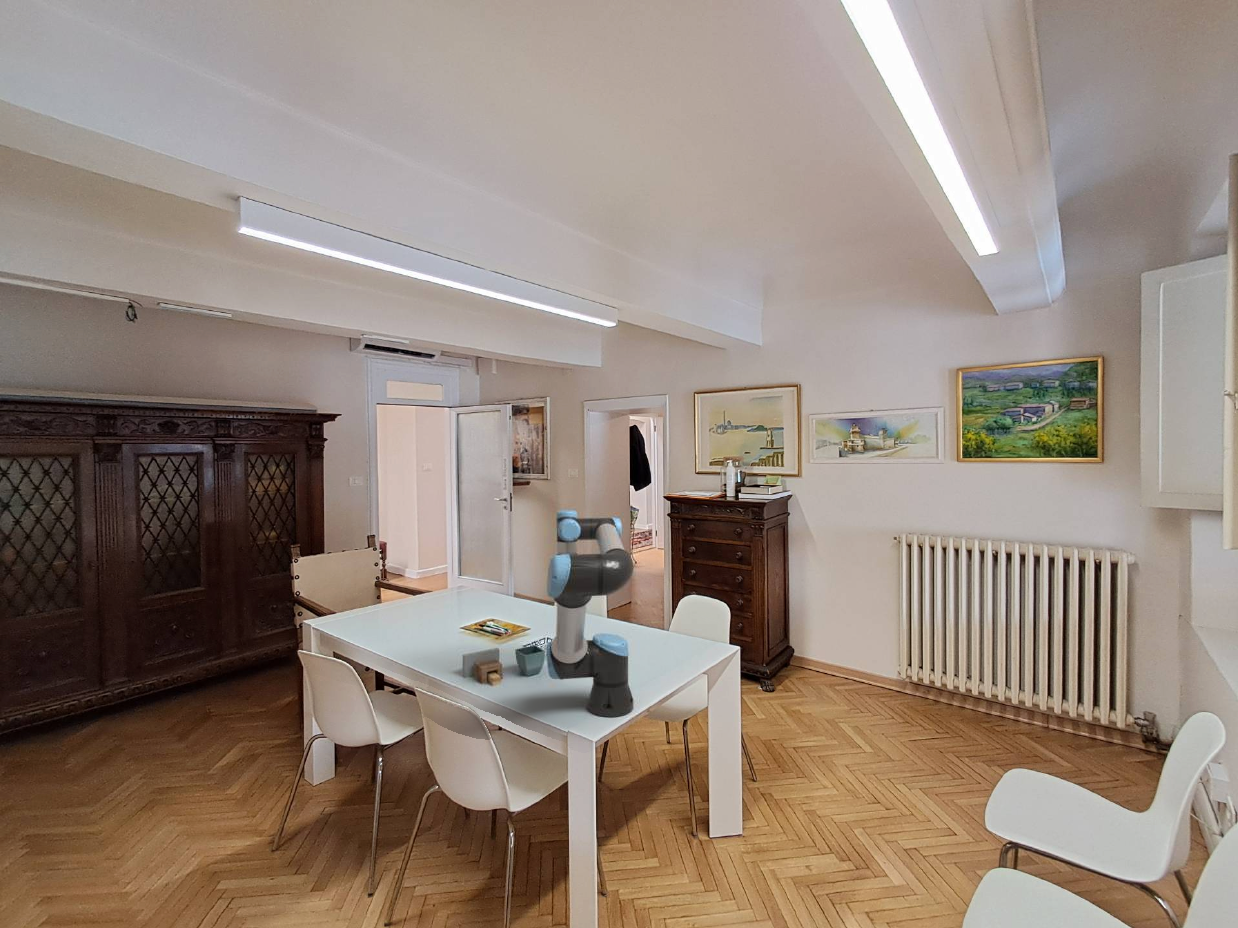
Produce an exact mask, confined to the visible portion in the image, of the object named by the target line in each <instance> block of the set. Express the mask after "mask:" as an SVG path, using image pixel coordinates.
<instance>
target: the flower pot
mask: <svg viewBox="0 0 1238 928" xmlns="http://www.w3.org/2000/svg"><path fill="white" fill-rule="evenodd" d="M514 654H515V661H516V664H517V667H518V669H519V671H520V672H521V673H522V675H524V676H526V677H530V676H534V675H537V674H538V675H539V673H540V672H541V671H542V669H543V666H544V663H545V656H546V655H545V654H546V650H544V649H543V648H541V647H539V646H537V645H529V646H525V647H524V646H523V647H520V648H516V649H514Z"/></svg>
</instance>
